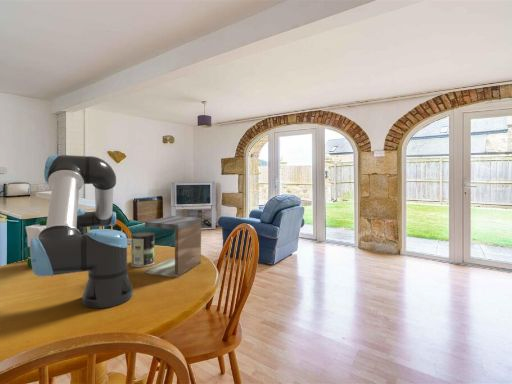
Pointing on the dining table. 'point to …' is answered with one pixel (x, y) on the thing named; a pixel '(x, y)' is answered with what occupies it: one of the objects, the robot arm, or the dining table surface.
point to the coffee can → (142, 249)
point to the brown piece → (179, 245)
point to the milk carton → (34, 235)
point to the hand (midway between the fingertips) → (126, 245)
